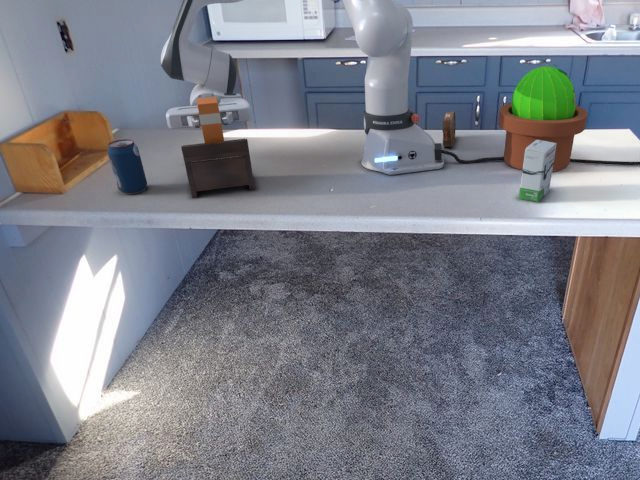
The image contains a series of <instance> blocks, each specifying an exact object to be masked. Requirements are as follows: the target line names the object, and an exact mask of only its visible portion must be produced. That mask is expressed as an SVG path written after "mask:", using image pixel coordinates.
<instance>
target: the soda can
mask: <svg viewBox="0 0 640 480" xmlns="http://www.w3.org/2000/svg"><path fill="white" fill-rule="evenodd" d="M107 145H108V146H107V147H108V148H107V151H106V152H107V156H108V159H109V163H110V166H111V169H112V173H113V177H114V180H115V183H116V187H117V189H118V190H119V191H120V192H121V193H122V194H124V195H137V194H140V193H142V192H144V191H145V190H146V189H147V186H148V181H147V177H146V173H145V169H144V165H143V162H142V158H141V154H140V149H139V147H138V146H137V144H136V143H135V141H134V140H133V139H131V138H129V139H128V138H127V139H126V138H124V139H123V138H122V139H116V140H113V141H110V142H108V144H107Z"/></svg>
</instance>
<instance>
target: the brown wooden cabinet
mask: <svg viewBox="0 0 640 480" xmlns="http://www.w3.org/2000/svg"><path fill="white" fill-rule="evenodd" d="M180 149H181V153H182V157H183V163H184V167H185V171H186V176H187V182H188V185H189V190H190V194H191V198H192V199H195V198H198V192H203V191H210V190H218V189H219V190H220V189H225V188H226V189H227V188H233V187H241V186H248V189H249V191H255V189H256V187H255V181H254V174H253V166H252V160H251V154H250V148H249V141H248V138H238V139H230V140H224V141H222V142H213V143H205V142H202V143H201V142H200V143H192V144H184V145H181V146H180Z"/></svg>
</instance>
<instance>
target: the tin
mask: <svg viewBox="0 0 640 480" xmlns="http://www.w3.org/2000/svg"><path fill="white" fill-rule="evenodd" d="M442 135H443V136H442V146H443V147H444V148H453V147H454V144H455V140H456V112H455V111H454V110H453V111H446V112H445V113H444V115H443V119H442Z"/></svg>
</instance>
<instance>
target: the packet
mask: <svg viewBox="0 0 640 480" xmlns="http://www.w3.org/2000/svg"><path fill="white" fill-rule="evenodd" d="M197 106H198V111H199V116H200V122H201V126H200V127H201V131H202V137H203V143H213V142H222V141H225V137H224V131H223V125H221V119H220V113H219V108H218V102H217V98H216V97H210V98H199V99H197Z"/></svg>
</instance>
